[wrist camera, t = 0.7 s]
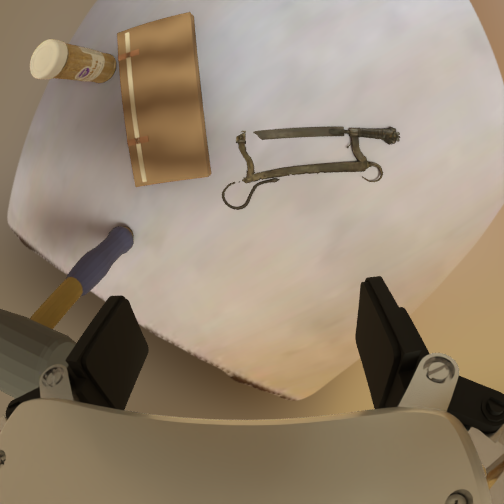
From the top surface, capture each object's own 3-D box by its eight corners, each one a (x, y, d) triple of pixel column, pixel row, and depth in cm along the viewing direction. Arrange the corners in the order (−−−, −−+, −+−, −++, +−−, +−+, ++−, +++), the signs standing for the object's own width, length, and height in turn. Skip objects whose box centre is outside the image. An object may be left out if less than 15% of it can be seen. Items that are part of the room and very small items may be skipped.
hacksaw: (397, 127, 32) (402, 127, 31) (396, 200, 37) (400, 203, 35) (214, 134, 34) (212, 134, 33) (224, 209, 39) (222, 213, 38)
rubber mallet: (163, 215, 39) (26, 381, 12) (163, 262, 42) (65, 437, 16) (90, 208, 39) (-57, 328, 12) (95, 252, 42) (-23, 384, 16)
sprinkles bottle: (105, 88, 31) (42, 85, 19) (86, 74, 30) (22, 70, 18) (123, 61, 30) (64, 46, 17) (103, 48, 28) (42, 33, 16)
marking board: (123, 36, 28) (116, 33, 26) (193, 16, 27) (189, 11, 25) (141, 183, 37) (135, 187, 35) (211, 173, 36) (208, 176, 34)
